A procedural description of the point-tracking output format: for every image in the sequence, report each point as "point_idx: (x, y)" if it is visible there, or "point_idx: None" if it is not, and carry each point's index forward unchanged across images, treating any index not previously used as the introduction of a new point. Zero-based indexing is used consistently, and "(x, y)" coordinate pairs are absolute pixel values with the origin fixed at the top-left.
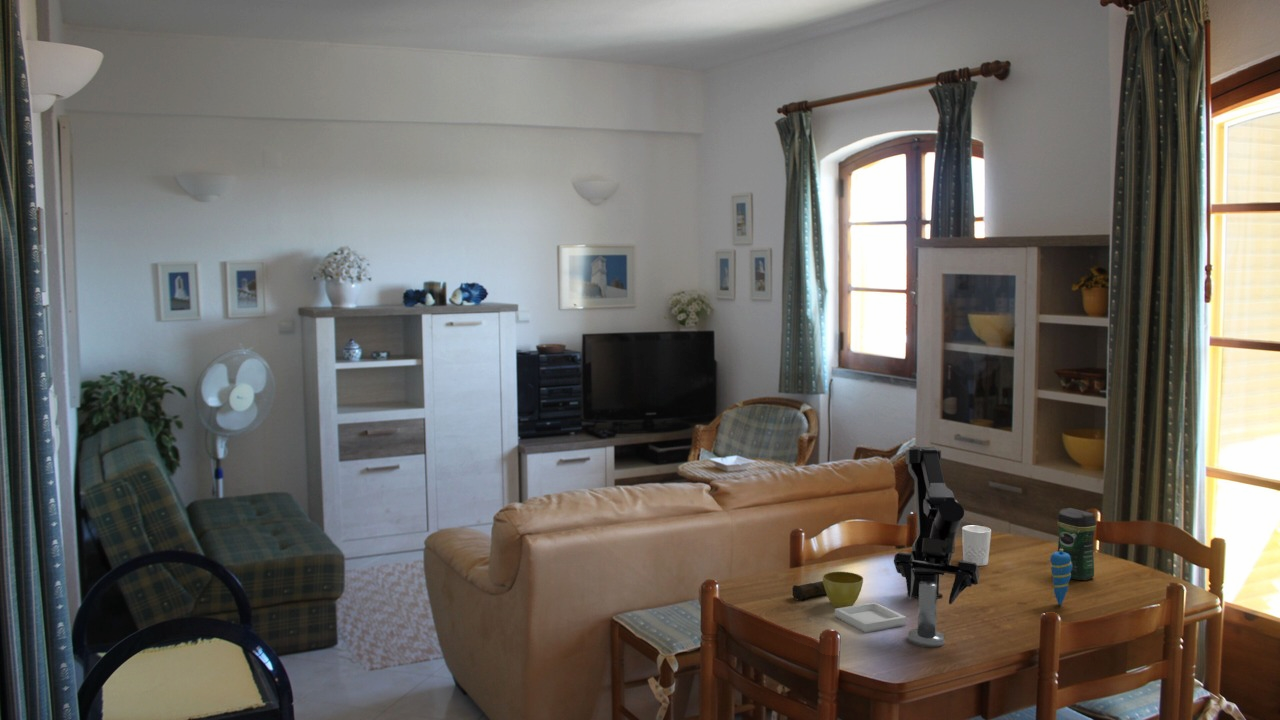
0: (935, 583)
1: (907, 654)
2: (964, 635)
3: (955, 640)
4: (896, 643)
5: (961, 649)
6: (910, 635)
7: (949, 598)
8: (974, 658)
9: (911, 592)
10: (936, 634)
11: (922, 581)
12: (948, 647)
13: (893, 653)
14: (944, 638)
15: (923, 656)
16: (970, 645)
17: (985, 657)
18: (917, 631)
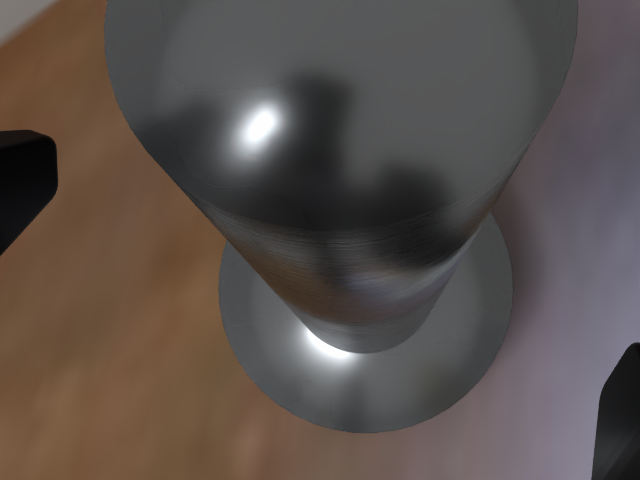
0: (139, 39)
1: None
2: (43, 462)
3: (140, 337)
4: (596, 203)
5: (141, 166)
6: (498, 240)
7: (12, 146)
8: (99, 32)
9: (613, 461)
10: (279, 298)
11: (470, 154)
12: None
13: (616, 17)
14: (228, 243)
15: None
16: (59, 251)
17: (27, 60)
18: (431, 348)
